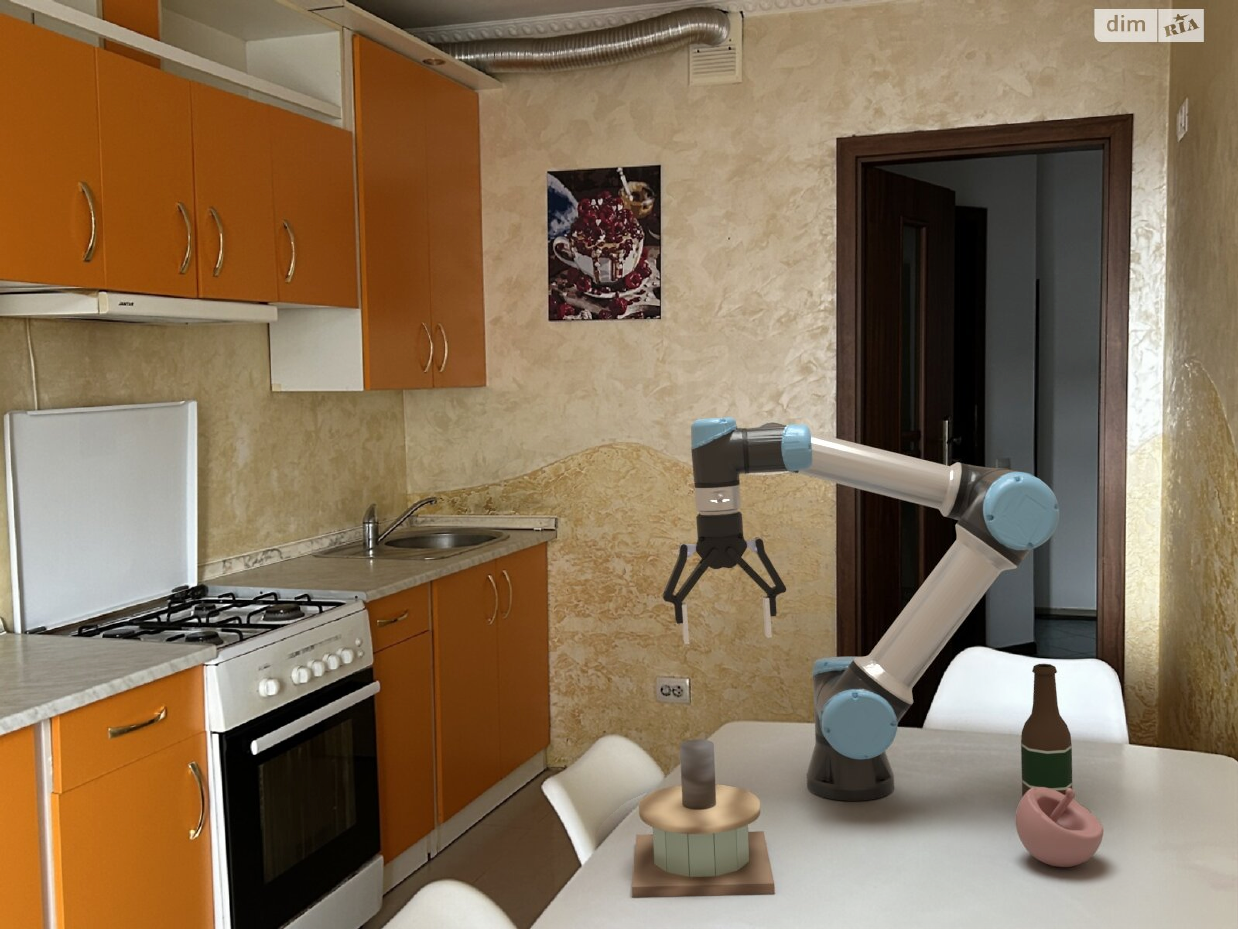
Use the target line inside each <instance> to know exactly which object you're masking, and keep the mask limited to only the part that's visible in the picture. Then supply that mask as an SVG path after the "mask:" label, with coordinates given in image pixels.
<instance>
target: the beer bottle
mask: <svg viewBox="0 0 1238 929" xmlns="http://www.w3.org/2000/svg"><path fill="white" fill-rule="evenodd" d="M1031 671H1032V673H1033V696H1032V707H1031V714H1030V716H1028V718H1027V720H1026V721H1025V722H1024V725H1023V727H1022V730H1021V738H1020V739H1021V740H1020V753H1021V754H1020V756H1021V759H1020V760H1021V761H1020V762H1021V791H1022V792H1021V793H1022V794H1021V796H1022V797H1023V796H1024V795H1025V793H1026V792H1027V791H1028V790H1029V789H1031V788H1033V787H1035V788H1036V787H1037V788H1038V787H1045V788H1050V789H1053V790H1055V791H1058V792H1060V793H1062V794H1063V795H1066V790H1067V788H1071V789H1073V753H1072V752H1073V749H1072V748H1073V747H1072V737H1071V732H1070V730H1069V727H1068V725H1067V723H1066V722H1065V720H1064V719H1063V717H1062V716H1061V714H1060V708H1059V706H1058V694H1057V693H1058V692H1057V683H1056V674H1057V673H1058V670H1057V668H1056V666H1055V665H1053V664H1052V663H1051V664H1050V663H1038V664H1035V665H1033V668H1032V670H1031ZM1073 790H1074V789H1073ZM1022 797H1021V798H1022Z"/></svg>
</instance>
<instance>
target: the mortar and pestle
mask: <svg viewBox="0 0 1238 929" xmlns="http://www.w3.org/2000/svg"><path fill="white" fill-rule="evenodd" d="M1075 797H1076V791H1075V790H1074V789H1071V788H1067V790H1066V795H1063V794H1062V793H1060V792H1058V791H1055V790H1053V789H1050V788H1045V787H1038V788H1037V787H1036V788H1035V787H1033V788H1031V789H1029V790H1028V791H1027V792H1026V793H1025V795H1024V796H1023V797H1021V799H1020V801H1019V803H1018V805H1017V807H1016V808H1017V809H1016V811H1015V812H1016V813H1015V827H1016V831H1017V832H1016V833H1017V836H1018V838H1019V839H1020V842H1021V844H1022V845H1023V847H1024V848H1025V850H1027V852H1028V853H1030V855H1031V856H1033V857H1034V858H1036V859H1037V860H1038V861H1040V862H1042V863H1044V864H1047V865H1048V866H1052V867H1058V868H1071V867H1075V866H1079V865H1081V864H1082V863H1085V862H1086V861H1088V860H1089V859H1090V858H1092V857H1093V855H1095V854H1096V853H1097V851H1098V849H1099V847H1100V846H1101V844H1102V840H1103V836H1104V832H1105V830H1104V827H1103V825H1102V823H1101V821H1099V819H1098V818H1097V817H1095V815H1094V814H1092V812H1090V811H1089V810H1088V809H1087V808H1085V807H1084V806H1083V805H1081V804H1080V803H1078V802H1077V801H1076V800H1075Z"/></svg>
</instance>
